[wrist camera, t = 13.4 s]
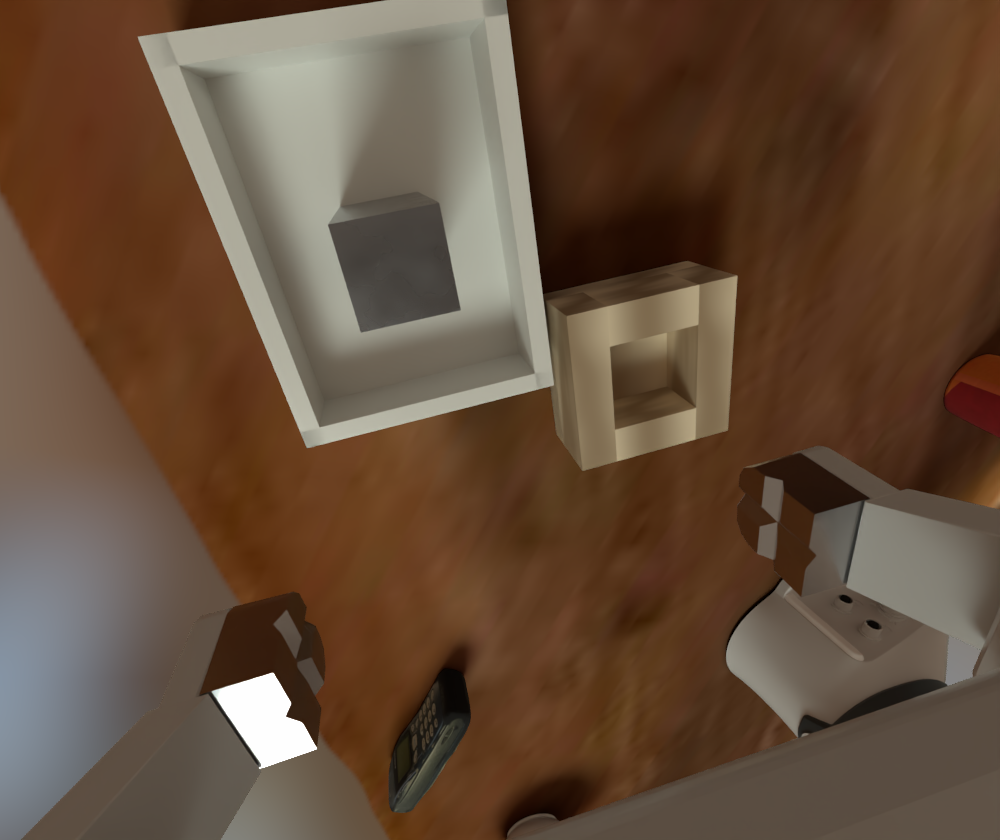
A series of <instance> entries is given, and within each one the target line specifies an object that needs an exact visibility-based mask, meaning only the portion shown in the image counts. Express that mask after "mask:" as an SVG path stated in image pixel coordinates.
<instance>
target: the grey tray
mask: <svg viewBox="0 0 1000 840" xmlns="http://www.w3.org/2000/svg"><path fill="white" fill-rule="evenodd" d="M138 39H139V42H140V44H141V47H142V49H143V52H144V54H145V56H146V59H147V61H148V64H149V66H150V68H151V71H152V73H153V76H154V78H155V81H156V83H157V85H158V88H159V90H160V93H161V95H162V98H163V100H164V102H165V105H166V107H167V110H168V112H169V115H170V117H171V119H172V122H173V124H174V127H175V129H176V132H177V134H178V136H179V139H180V141H181V144H182V146H183V149H184V151H185V153H186V156H187V158H188V161H189V163H190V166H191V168H192V170H193V173H194V175H195V178H196V180H197V183H198V185H199V187H200V190H201V192H202V195H203V197H204V200H205V202H206V204H207V207H208V209H209V212H210V214H211V217H212V219H213V221H214V224H215V226H216V229H217V231H218V233H219V236H220V238H221V241H222V243H223V246H224V248H225V250H226V253H227V255H228V258H229V260H230V263H231V265H232V267H233V270H234V272H235V275H236V277H237V280H238V282H239V284H240V287H241V289H242V292H243V294H244V297H245V299H246V301H247V304H248V306H249V309H250V311H251V314H252V316H253V318H254V321H255V323H256V326H257V328H258V331H259V333H260V335H261V338H262V340H263V343H264V345H265V348H266V350H267V352H268V355H269V357H270V360H271V362H272V365H273V367H274V369H275V372H276V374H277V377H278V379H279V382H280V384H281V386H282V389H283V391H284V394H285V396H286V399H287V401H288V403H289V406H290V408H291V411H292V413H293V415H294V418H295V420H296V423H297V425H298V428H299V430H300V432H301V435H302V437H303V440H304V442H305V445H306V447H307V448H310V447H314V446H318V445H322V444H326V443H329V442H333V441H337V440H341V439H345V438H349V437H353V436H357V435H361V434H365V433H369V432H373V431H377V430H380V429H384V428H388V427H392V426H396V425H400V424H404V423H408V422H412V421H416V420H420V419H424V418H428V417H431V416H435V415H439V414H443V413H447V412H451V411H455V410H459V409H463V408H467V407H471V406H475V405H479V404H482V403H486V402H490V401H494V400H498V399H502V398H506V397H510V396H514V395H518V394H522V393H526V392H529V391H533V390H537V389H541V388H545V387H549V386H553V385H554V381H553V373H552V365H551V357H550V349H549V341H548V333H547V325H546V317H545V309H544V301H543V293H542V284H541V276H540V268H539V260H538V252H537V244H536V236H535V228H534V220H533V212H532V204H531V196H530V188H529V180H528V172H527V164H526V156H525V148H524V140H523V132H522V123H521V115H520V107H519V99H518V91H517V83H516V75H515V67H514V59H513V51H512V43H511V35H510V27H509V19H508V11H507V3H506V0H385V1H379V2H372V3H365V4H358V5H352V6H345V7H338V8H331V9H324V10H318V11H311V12H304V13H297V14H290V15H284V16H277V17H270V18H263V19H257V20H250V21H243V22H236V23H229V24H223V25H216V26H209V27H202V28H195V29H189V30H182V31H175V32H168V33H162V34H155V35H148V36H141V37H138ZM413 192H419V193H421V194H423V195H425V196H427V197H429V198H431V199H433V200H435V201H437V202H439V204H440V209H441V214H442V219H443V224H444V229H445V234H446V239H447V244H448V249H449V254H450V259H451V264H452V269H453V273H454V278H455V283H456V288H457V293H458V298H459V303H460V308H461V310H460V311H455V312H451V313H446V314H442V315H437V316H433V317H429V318H424V319H420V320H415V321H411V322H406V323H402V324H398V325H393V326H389V327H384V328H380V329H375V330H371V331H366V332H362V333H361V332H360V328H359V325H358V322H357V318H356V315H355V312H354V309H353V305H352V302H351V299H350V296H349V292H348V289H347V286H346V283H345V279H344V276H343V273H342V269H341V266H340V263H339V260H338V256H337V253H336V250H335V247H334V243H333V240H332V237H331V233H330V230H329V227H328V224H329V222H330V221H331V219H332V218H333V216H334V215H335V213H336V212H337V210H338V209H339V207H340V206H346V205H351V204H356V203H361V202H366V201H372V200H377V199H382V198H387V197H392V196H398V195H403V194H408V193H413Z"/></svg>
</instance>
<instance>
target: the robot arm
mask: <svg viewBox="0 0 1000 840" xmlns="http://www.w3.org/2000/svg"><path fill="white" fill-rule="evenodd" d="M739 487H740V488H741V489H742V491H743V492H744V493H745V495H744V497H743V498H742V500H741V501H740V503H739V504H738V505H737V522H738V525H739V528H740V531H741V534H742V535H743V537H744V539H745V540H746V542H747V543H748V545H749V546H750V547H751V548H752V549H753V550H754V551H755V552H756V553H757V554H760V555H762V556H765V557H768V558H770V559H773V562H774V571H775V572H776V573H777V574H778V575H779V576H780V577H781V578H782V579H783V580H782V581H781V582H780V584H779V585H778V586H777V588H776V589H775V591H774V592H773V593H772V594H771V595H769V596H768V597H767V598H766V599H765V600H763V601H762V602H761V603H760V604H759V605H757V606H756V607H755V608H754V609H753V610H752V611H751V612H750V613H749V614H748V615H747V616H746V617H745V618H744V619H743V620H742V622H741V623H740V624H739V625H738V627H737V628H736V630H735V631H734V633H733V635H732V637H731V639H730V641H729V644H728V647H727V652H726V661H727V665H728V667H729V669H730V671H731V672H732V673H733V674H734V675H736V676H737V677H738V678H740V679H741V680H742V681H743V682H744V683H746V684H747V685H748V686H749V687H750V688H751V689H752V690H754V691H755V692H756V693H757V694H758V695H759V696H760V697H761V698H762V699H763V700H764V701H765V702H766V703H767V704H768V705H769V706H770V707H771V708H772V709H773V710H774V711H775V712H776V713H777V714H778V716H779V717H780V718H781V719H782V720H783V721H784V722H785V723H786V724H787V725H788V727H789V728H790V729H791V730H792V731H793V732H794V734H795V735H796V736H797V737H798V738H797V739H794V740H791V741H789V742H786V743H783V744H780V745H777V746H774V747H771V748H768V749H766V750H763V751H760V752H757V753H754V754H751V755H748V756H746V757H743V758H740V759H737V760H734V761H731V762H728V763H725V764H723V765H720V766H717V767H714V768H711V769H708V770H705V771H702V772H700V773H697V774H694V775H691V776H688V777H685V778H682V779H679V780H677V781H674V782H671V783H668V784H665V785H662V786H659V787H657V788H654V789H651V790H648V791H645V792H642V793H639V794H636V795H634V796H631V797H628V798H625V799H622V800H619V801H616V802H613V803H611V804H608V805H605V806H602V807H599V808H596V809H593V810H591V811H588V812H585V813H582V814H579V815H576V816H573V817H571V818H568V819H565V820H562V821H559V822H556V823H553V824H551V825H548V826H545V827H542V828H539V829H536V830H533V831H531V832H528V833H525V834H522V835H519V836H516V837H513V838H511V839H508V840H1000V510H999V509H995V508H990V507H986V506H982V505H977V504H973V503H969V502H964V501H960V500H955V499H951V498H947V497H942V496H938V495H934V494H929V493H925V492H920V491H916V490H912V489H905V490H901V491H899V490H898V489H896V488H894V487H893V486H891V485H889V484H888V483H886V482H884V481H883V480H881V479H879V478H878V477H876V476H874V475H873V474H871V473H869V472H868V471H866V470H864V469H863V468H861V467H859V466H858V465H856V464H854V463H853V462H851V461H849V460H848V459H846V458H844V457H843V456H841V455H839V454H838V453H836V452H834V451H833V450H831V449H829V448H827V447H823V446H815V447H812V448H809V449H805V450H802V451H799V452H795V453H793V454H791V455H787V456H783V457H780V458H776V459H773V460H769V461H766V462H762V463H759V464H755V465H752V466H748V467H745V468H743V470H742V472H741V474H740V478H739ZM306 608H307V607H306V605H305V604H304V602H303V600H302V598H301V596H300V594H299V593H296V592H291V593H287V594H283V595H279V596H275V597H271V598H267V599H263V600H259V601H255V602H251V603H247V604H243V605H239V606H235V607H233V608H230V609H225V610H221V611H217V612H214V613H210V614H206V615H202V616H201V617H200V618H199V619H197V620H196V621H195V622H194V624H193V626H192V629H191V631H190V634H189V636H188V638H187V641H186V644H185V646H184V648H183V650H182V653H181V655H180V658H179V660H178V663H177V665H176V667H175V670H174V672H173V674H172V677H171V679H170V682H169V684H168V687H167V689H166V691H165V694H164V696H163V699H162V701H161V703H160V706H159V708H158V709H155V710H151V711H148V712H147V713H146V714H145V715H144V716H143V717H142V718H141V719H140V720H139V721H138V722H137V723H136V724H135V725H134V726H133V727H132V728H131V729H130V730H129V731H128V732H127V733H126V734H125V735H124V736H123V737H122V738H121V739H120V740H119V741H118V742H117V743H116V744H115V745H114V746H113V747H112V748H111V749H110V750H109V751H108V752H107V753H106V754H105V755H104V756H103V757H102V758H101V759H100V760H99V761H98V762H97V763H96V764H95V765H94V766H93V768H92V769H90V770H89V771H88V772H87V773H86V774H85V775H84V777H82V779H80V781H78V783H76V785H75V786H74V787H73V788H72V789H71V790H70V791H69V792H68V793H67V794H66V795H65V796H64V797H63V798H62V799H61V800H60V801H59V802H58V803H57V804H56V805H55V806H54V807H53V808H52V809H51V810H50V811H49V812H48V813H47V814H46V815H45V816H44V817H43V818H42V819H41V820H40V821H39V822H38V823H37V824H36V825H35V826H34V827H33V828H32V829H31V830H30V831H29V832H28V833H27V834H26V835H25V836H24V837H23V838H22V839H21V840H221V838H222V836H223V835H224V833H225V831H226V830H227V828H228V826H229V824H230V823H231V821H232V820H233V818H234V816H235V814H236V813H237V811H238V810H239V808H240V806H241V805H242V803H243V801H244V800H245V798H246V796H247V795H248V793H249V791H250V789H251V788H252V786H253V784H254V783H255V781H256V780H257V778H258V776H259V775H260V773H261V770H260V768H263V767H266V766H269V765H271V764H274V763H277V762H280V761H283V760H286V759H289V758H292V757H295V756H297V755H300V754H304V753H306V752H309V751H312V750H315V749H317V743H318V734H319V725H320V716H321V707H320V705H319V703H318V701H317V699H316V697H315V695H316V694H317V692H318V691H319V689H320V688H321V687H322V685H323V684H324V678H325V657H324V648H323V644H322V641H321V637H320V635H319V632H318V630H317V628H316V626H315V625H313V624H311V623H308V622H306V621H305V615H306ZM949 636H951V637H953V638H956V639H958V640H960V641H962V642H964V643H966V644H968V645H971V646H973V647H975V648H977V649H979V650H981V652H980V655H979V657H978V660H977V662H976V664H975V666H974V669H973V677H972V678H970V679H966V680H963V681H961V682H958V683H955V684H952V685H949V686H947V684H945V680H946V667H947V656H948V655H947V654H948V642H949Z"/></svg>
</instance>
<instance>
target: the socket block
mask: <svg viewBox="0 0 1000 840" xmlns="http://www.w3.org/2000/svg"><path fill="white" fill-rule="evenodd" d="M736 291H737V275H733V274H730V273H727V272H723V271H720V270H717V269H713V268H710V267H707V266H703V265H700V264H697V263H693V262H690V261H685V262H680V263H676V264H672V265H667V266H663V267H659V268H654V269H650V270H646V271H641V272H637V273H633V274H628V275H624V276H620V277H615V278H611V279H607V280H602V281H598V282H593V283H589V284H585V285H580V286H576V287H572V288H567V289H563V290H559V291H554V292H550V293H546V294H543V301H544V309H545V317H546V325H547V333H548V341H549V349H550V357H551V365H552V373H553V381H554V385H553V386H550V387H551V395H552V403H553V411H554V419H555V426H556V434H557V435H558V437H559V438H560V440H561V441H562V442H563V444H564V445H565V447H566V448H567V449H568V451H569V452H570V454H571V455H572V457H573V458H574V459H575V461H576V462H577V464H578V465H579V467H580V468H581V469H582V471H584V470H588V469H591V468H595V467H598V466H602V465H605V464H609V463H613V462H616V461H620V460H623V459H627V458H630V457H634V456H638V455H641V454H645V453H648V452H652V451H656V450H659V449H663V448H666V447H670V446H673V445H677V444H681V443H684V442H688V441H691V440H695V439H698V438H702V437H706V436H709V435H713V434H716V433H720V432H723V431H727V430H728V419H729V403H730V387H731V371H732V355H733V339H734V323H735V307H736Z"/></svg>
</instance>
